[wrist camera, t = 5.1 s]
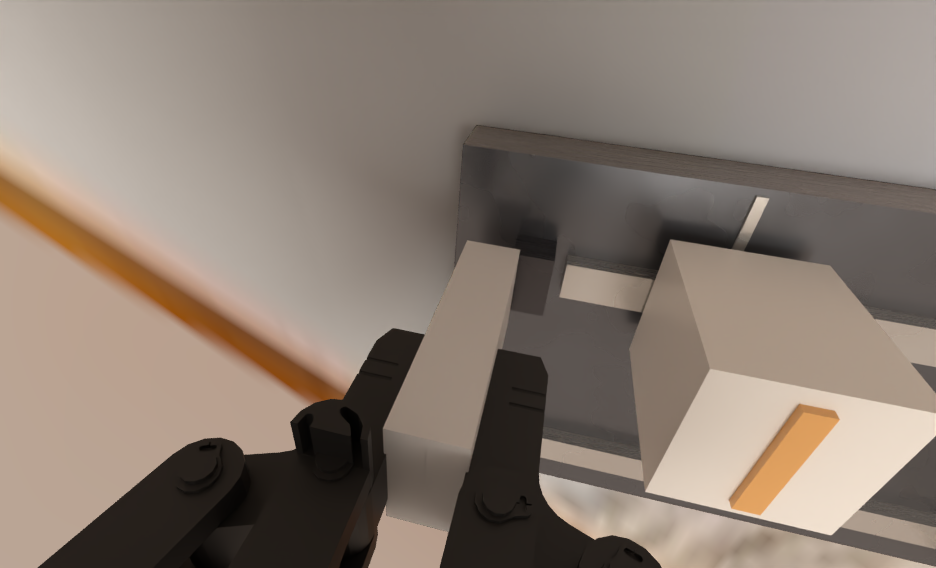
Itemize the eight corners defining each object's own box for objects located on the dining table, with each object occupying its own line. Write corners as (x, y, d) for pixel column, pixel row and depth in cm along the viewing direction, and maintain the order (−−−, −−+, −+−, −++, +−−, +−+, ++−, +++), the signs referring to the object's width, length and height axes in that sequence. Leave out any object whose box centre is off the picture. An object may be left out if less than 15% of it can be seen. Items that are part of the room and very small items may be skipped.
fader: (670, 239, 12) (713, 376, 8) (830, 265, 12) (962, 426, 8) (629, 348, 15) (645, 499, 10) (761, 374, 14) (835, 544, 10)
